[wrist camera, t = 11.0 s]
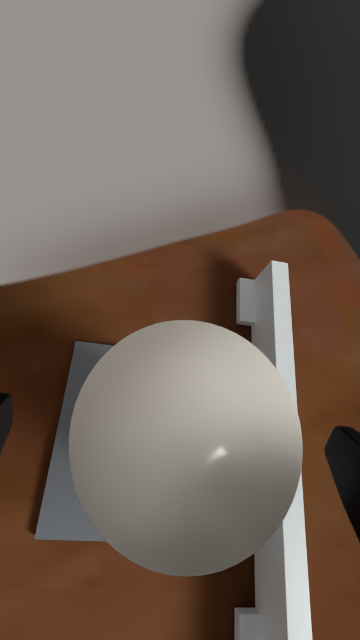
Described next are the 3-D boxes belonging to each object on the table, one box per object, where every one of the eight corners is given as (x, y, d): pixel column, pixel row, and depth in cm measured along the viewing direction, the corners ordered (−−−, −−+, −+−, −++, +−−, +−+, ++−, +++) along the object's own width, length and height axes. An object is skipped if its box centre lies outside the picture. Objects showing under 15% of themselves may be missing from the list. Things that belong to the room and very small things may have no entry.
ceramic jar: (194, 496, 15) (313, 577, 6) (89, 491, 14) (41, 576, 5) (198, 392, 17) (293, 333, 8) (106, 383, 16) (92, 306, 7)
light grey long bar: (299, 694, 14) (346, 759, 11) (233, 697, 13) (265, 766, 10) (278, 288, 21) (303, 266, 18) (236, 281, 21) (255, 257, 18)
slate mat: (230, 542, 15) (232, 545, 15) (36, 536, 14) (34, 539, 13) (232, 362, 18) (234, 360, 18) (76, 343, 17) (75, 340, 17)
